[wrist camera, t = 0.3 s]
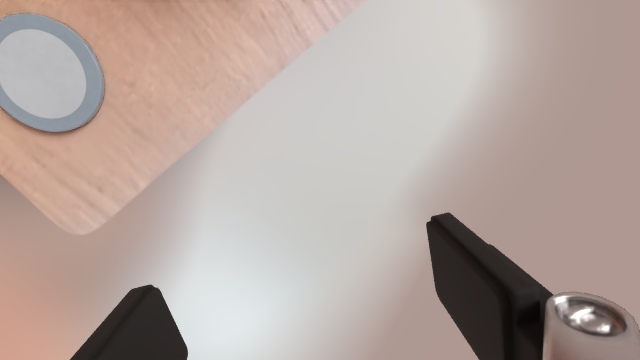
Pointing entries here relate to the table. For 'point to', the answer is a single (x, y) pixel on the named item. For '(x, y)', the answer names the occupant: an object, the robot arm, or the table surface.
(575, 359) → the robot arm
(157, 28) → the table surface
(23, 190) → the table surface
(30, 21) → the plate
